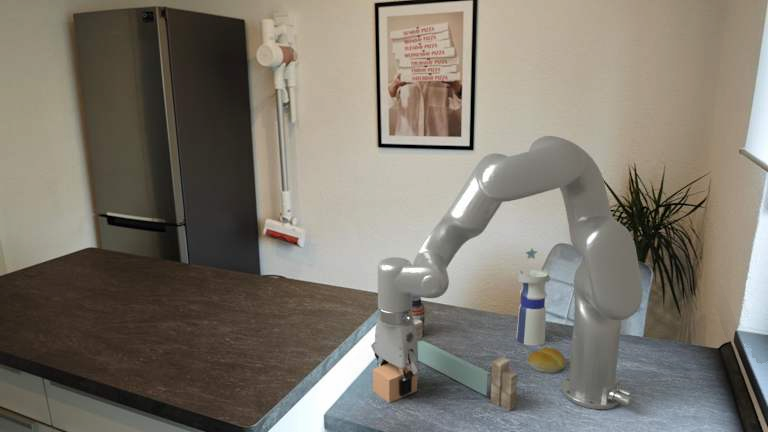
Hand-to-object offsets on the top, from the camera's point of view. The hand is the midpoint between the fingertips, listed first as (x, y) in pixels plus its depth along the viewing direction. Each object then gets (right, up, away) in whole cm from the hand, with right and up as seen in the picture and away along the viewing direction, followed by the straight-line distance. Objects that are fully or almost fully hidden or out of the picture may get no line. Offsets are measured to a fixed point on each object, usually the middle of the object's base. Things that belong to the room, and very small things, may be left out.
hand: (395, 386), depth 122 cm
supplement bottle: (+6, +5, +28) cm, 29 cm away
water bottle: (+37, +5, +25) cm, 45 cm away
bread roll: (+38, +1, +12) cm, 40 cm away
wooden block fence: (+14, 0, +5) cm, 15 cm away
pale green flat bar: (+14, +1, +5) cm, 15 cm away
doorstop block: (0, -1, 0) cm, 1 cm away
